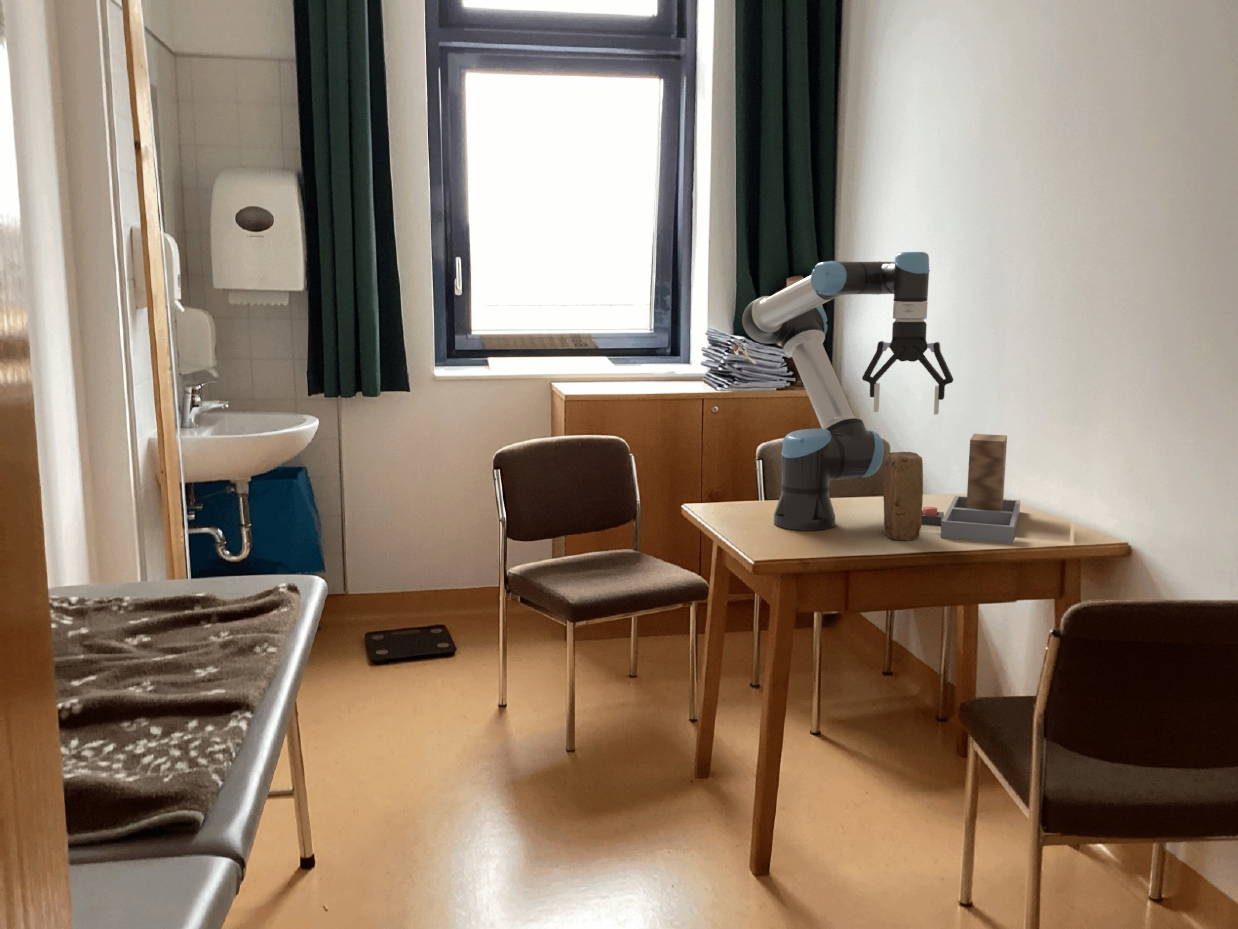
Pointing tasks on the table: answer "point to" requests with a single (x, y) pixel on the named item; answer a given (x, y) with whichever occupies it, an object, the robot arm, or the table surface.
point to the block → (903, 495)
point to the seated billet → (986, 472)
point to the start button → (930, 511)
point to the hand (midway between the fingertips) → (905, 412)
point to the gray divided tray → (980, 522)
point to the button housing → (932, 519)
